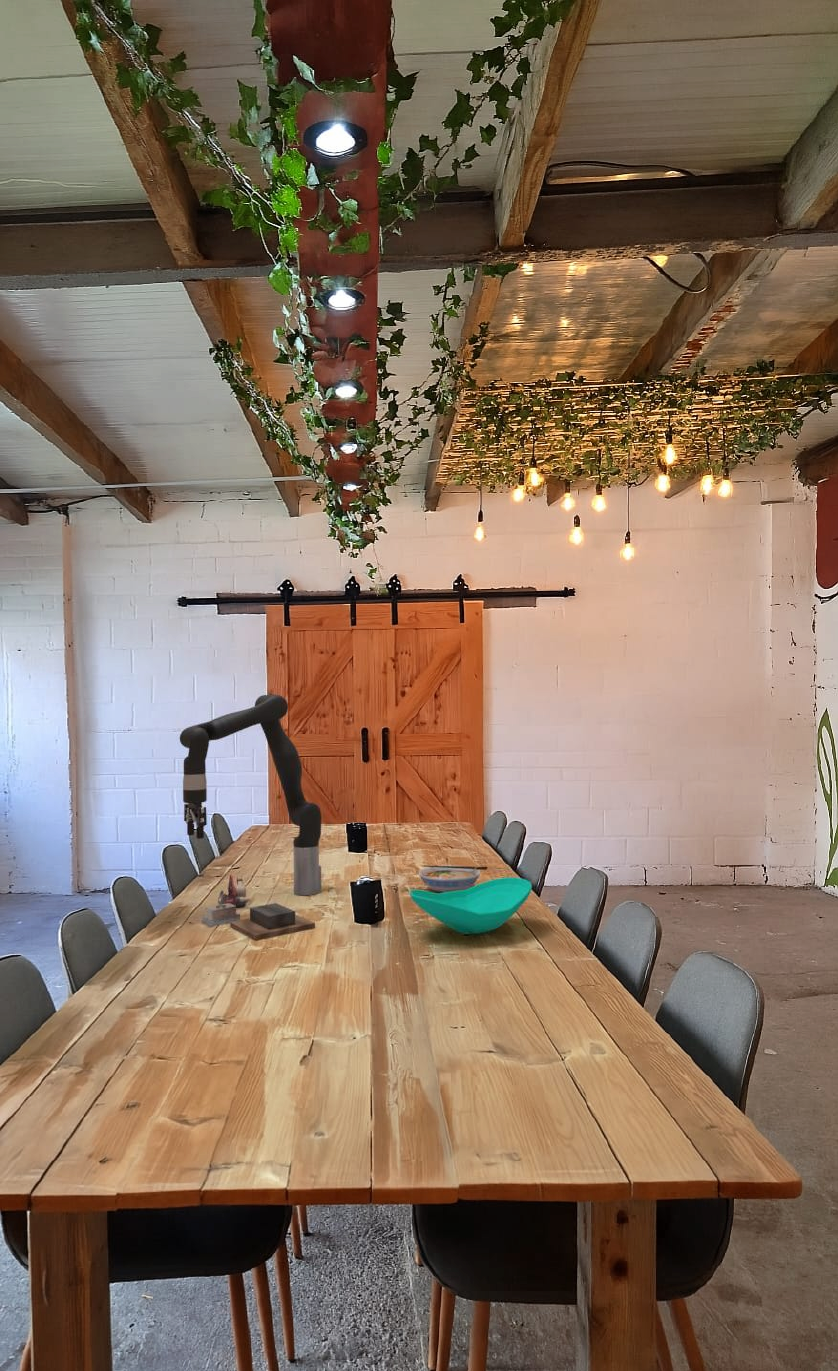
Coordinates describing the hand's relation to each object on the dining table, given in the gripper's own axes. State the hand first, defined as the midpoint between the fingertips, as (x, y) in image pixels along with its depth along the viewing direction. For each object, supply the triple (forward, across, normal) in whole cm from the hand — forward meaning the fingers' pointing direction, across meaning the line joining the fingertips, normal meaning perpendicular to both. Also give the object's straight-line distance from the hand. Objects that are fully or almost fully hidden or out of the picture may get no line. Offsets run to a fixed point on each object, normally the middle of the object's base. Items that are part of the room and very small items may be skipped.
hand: (195, 836), depth 256 cm
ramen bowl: (+27, -28, -85) cm, 93 cm away
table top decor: (+26, -70, -60) cm, 96 cm away
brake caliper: (+26, +4, -14) cm, 30 cm away
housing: (+26, -12, -4) cm, 29 cm away
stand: (+26, -28, -14) cm, 41 cm away
